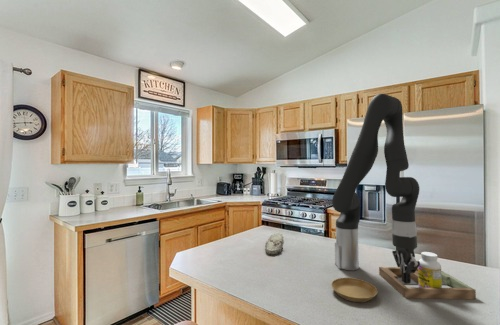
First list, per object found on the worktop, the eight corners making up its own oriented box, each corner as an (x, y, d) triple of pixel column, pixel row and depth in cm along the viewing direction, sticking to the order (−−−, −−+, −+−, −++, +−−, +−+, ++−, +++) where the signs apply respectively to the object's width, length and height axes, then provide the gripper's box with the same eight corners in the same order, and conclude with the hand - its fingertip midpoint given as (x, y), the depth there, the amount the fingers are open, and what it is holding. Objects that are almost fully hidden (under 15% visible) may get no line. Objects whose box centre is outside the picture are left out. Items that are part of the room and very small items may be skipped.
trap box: (405, 298, 83) (405, 288, 83) (379, 274, 101) (379, 267, 101) (475, 299, 82) (475, 290, 82) (436, 275, 100) (436, 267, 100)
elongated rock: (285, 239, 157) (269, 240, 159) (285, 231, 158) (269, 231, 159) (283, 255, 123) (263, 255, 125) (282, 244, 123) (262, 245, 125)
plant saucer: (354, 310, 76) (354, 301, 76) (322, 289, 90) (322, 282, 90) (387, 299, 82) (387, 291, 82) (353, 281, 96) (353, 274, 96)
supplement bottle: (414, 286, 91) (413, 251, 91) (431, 285, 91) (430, 250, 92) (428, 295, 84) (427, 257, 85) (447, 294, 85) (445, 256, 85)
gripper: (383, 229, 96) (385, 275, 95) (404, 238, 82) (407, 291, 82) (403, 228, 95) (405, 274, 95) (427, 237, 82) (430, 291, 82)
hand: (406, 282), depth 88 cm, fingers closed
